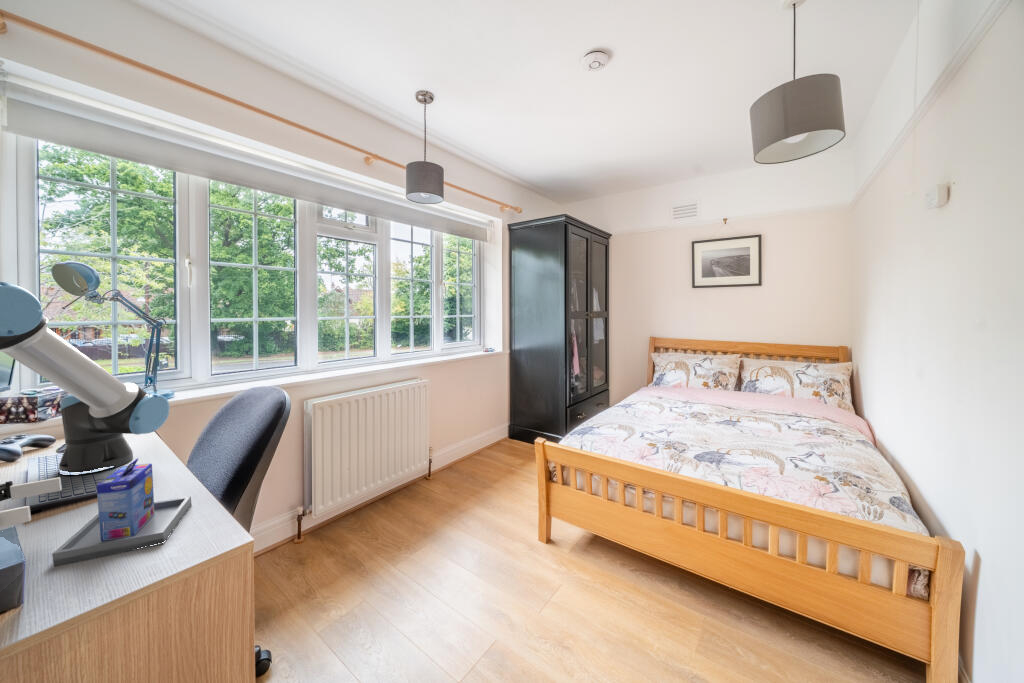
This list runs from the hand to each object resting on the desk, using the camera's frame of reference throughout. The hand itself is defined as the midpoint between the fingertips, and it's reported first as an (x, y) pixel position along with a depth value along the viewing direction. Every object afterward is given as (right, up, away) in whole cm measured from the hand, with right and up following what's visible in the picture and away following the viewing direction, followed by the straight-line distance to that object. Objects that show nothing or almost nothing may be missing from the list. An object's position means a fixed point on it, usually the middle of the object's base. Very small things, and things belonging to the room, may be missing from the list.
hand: (46, 497), depth 74 cm
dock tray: (+9, -11, +7) cm, 16 cm away
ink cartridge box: (+9, -10, +7) cm, 15 cm away
